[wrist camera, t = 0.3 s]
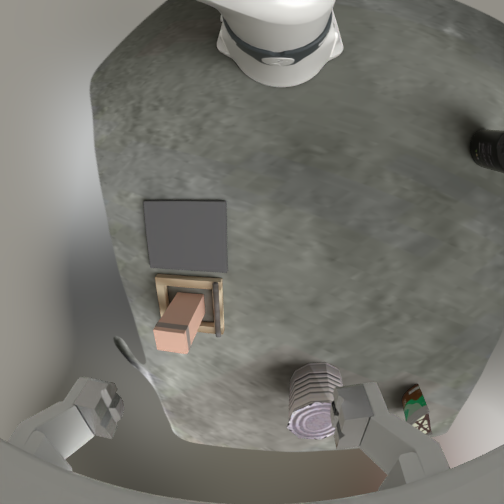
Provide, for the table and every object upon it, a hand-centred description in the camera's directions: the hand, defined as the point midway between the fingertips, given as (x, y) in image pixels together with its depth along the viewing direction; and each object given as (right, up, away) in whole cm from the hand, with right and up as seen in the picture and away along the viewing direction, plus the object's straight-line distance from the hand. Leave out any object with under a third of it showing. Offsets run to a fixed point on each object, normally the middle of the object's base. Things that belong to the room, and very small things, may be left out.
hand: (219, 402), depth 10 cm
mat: (-10, +8, +40) cm, 42 cm away
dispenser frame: (-10, -4, +45) cm, 46 cm away
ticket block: (-10, -4, +45) cm, 46 cm away
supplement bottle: (+41, +23, +28) cm, 55 cm away
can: (+15, -22, +49) cm, 56 cm away
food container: (+39, -31, +50) cm, 70 cm away
